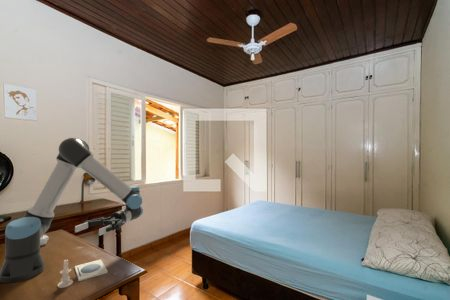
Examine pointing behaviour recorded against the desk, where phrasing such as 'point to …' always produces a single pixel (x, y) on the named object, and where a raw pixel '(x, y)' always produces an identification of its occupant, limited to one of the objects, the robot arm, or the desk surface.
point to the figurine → (44, 239)
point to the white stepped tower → (65, 276)
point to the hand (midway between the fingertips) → (87, 230)
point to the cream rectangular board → (90, 270)
